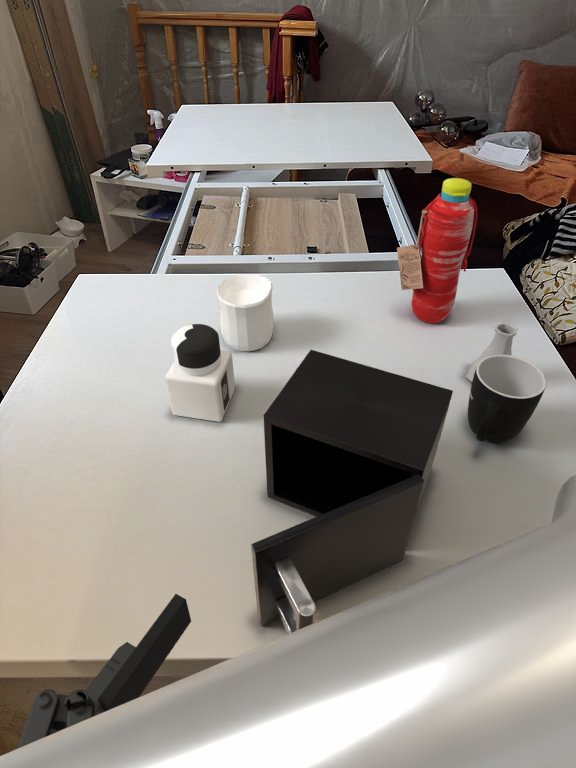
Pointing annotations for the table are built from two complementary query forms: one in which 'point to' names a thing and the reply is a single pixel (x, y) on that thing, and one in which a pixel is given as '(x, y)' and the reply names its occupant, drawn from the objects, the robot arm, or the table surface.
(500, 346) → the flask
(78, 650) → the table surface
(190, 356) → the container
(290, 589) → the door
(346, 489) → the dark grey cabinet
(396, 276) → the table surface
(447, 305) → the water bottle
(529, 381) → the mug
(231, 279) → the cup
